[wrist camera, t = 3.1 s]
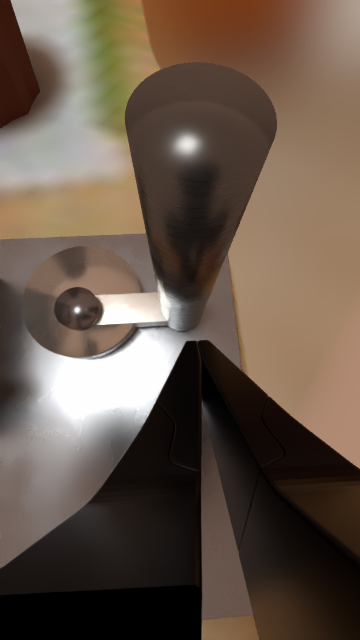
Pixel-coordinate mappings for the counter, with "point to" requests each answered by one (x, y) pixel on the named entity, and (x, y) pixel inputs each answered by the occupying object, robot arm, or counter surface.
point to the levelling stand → (99, 413)
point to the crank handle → (162, 212)
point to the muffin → (14, 69)
